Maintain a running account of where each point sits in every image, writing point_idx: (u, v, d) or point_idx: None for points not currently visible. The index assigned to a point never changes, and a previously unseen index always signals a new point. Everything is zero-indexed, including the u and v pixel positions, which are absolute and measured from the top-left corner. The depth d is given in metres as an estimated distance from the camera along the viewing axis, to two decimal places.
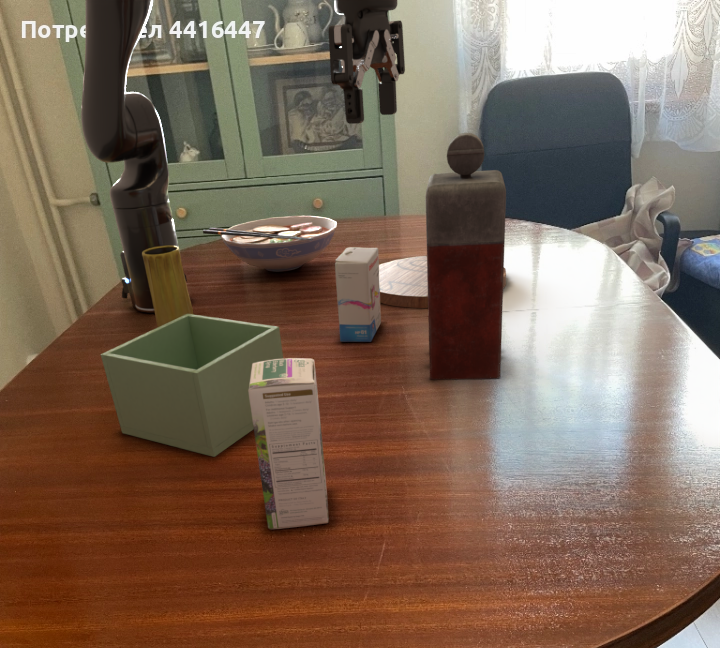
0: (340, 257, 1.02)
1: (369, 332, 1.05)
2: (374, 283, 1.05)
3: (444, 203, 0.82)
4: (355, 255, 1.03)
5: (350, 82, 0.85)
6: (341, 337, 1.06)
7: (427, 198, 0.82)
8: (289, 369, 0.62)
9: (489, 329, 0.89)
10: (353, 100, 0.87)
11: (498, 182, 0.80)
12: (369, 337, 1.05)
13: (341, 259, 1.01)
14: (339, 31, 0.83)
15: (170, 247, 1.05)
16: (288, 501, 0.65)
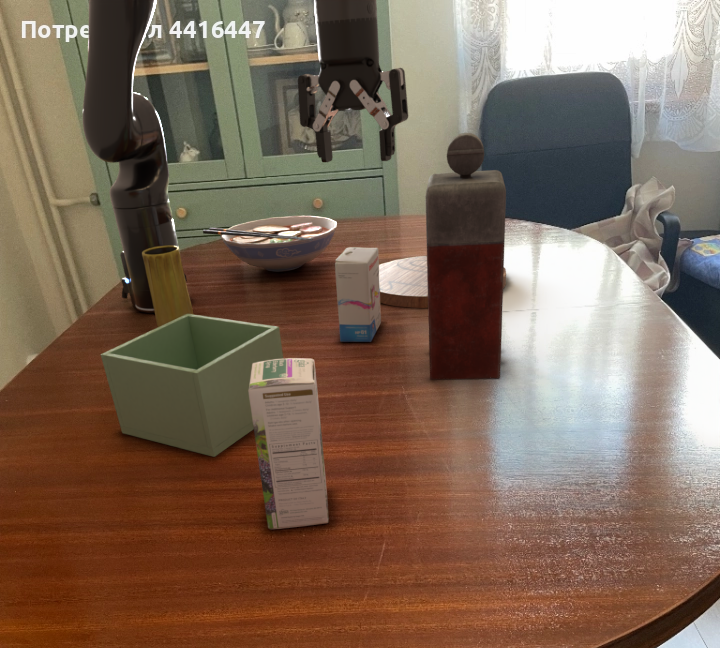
0: (340, 257, 1.02)
1: (369, 332, 1.05)
2: (374, 283, 1.05)
3: (443, 203, 0.82)
4: (355, 255, 1.03)
5: (303, 125, 0.96)
6: (341, 337, 1.06)
7: (427, 198, 0.82)
8: (289, 369, 0.62)
9: (489, 329, 0.89)
10: (316, 141, 0.97)
11: (498, 182, 0.80)
12: (369, 337, 1.05)
13: (341, 259, 1.01)
14: None
15: (170, 247, 1.05)
16: (288, 501, 0.65)
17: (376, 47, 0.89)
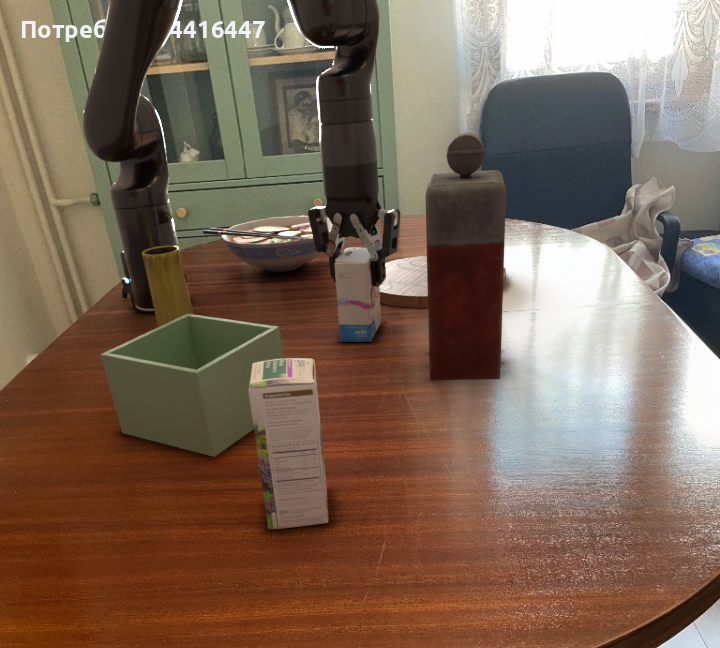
0: (340, 257, 1.02)
1: (369, 332, 1.05)
2: None
3: (443, 203, 0.82)
4: (355, 255, 1.03)
5: (318, 251, 1.05)
6: (341, 337, 1.06)
7: (427, 198, 0.82)
8: (289, 369, 0.62)
9: (489, 329, 0.89)
10: (330, 264, 1.06)
11: (498, 182, 0.80)
12: (368, 337, 1.05)
13: (341, 260, 1.01)
14: None
15: (170, 247, 1.05)
16: (288, 501, 0.65)
17: (374, 186, 0.97)
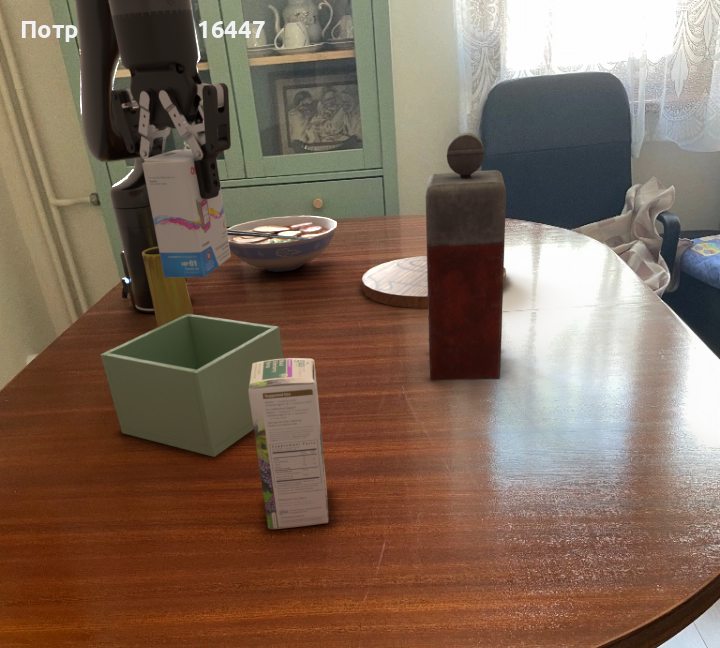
0: (153, 157, 0.74)
1: (200, 263, 0.77)
2: None
3: (443, 203, 0.82)
4: (176, 155, 0.75)
5: (131, 152, 0.77)
6: (164, 271, 0.78)
7: (427, 198, 0.82)
8: (289, 369, 0.62)
9: (489, 329, 0.89)
10: None
11: (498, 182, 0.80)
12: (200, 270, 0.77)
13: (152, 159, 0.73)
14: None
15: None
16: (288, 501, 0.65)
17: (188, 48, 0.69)
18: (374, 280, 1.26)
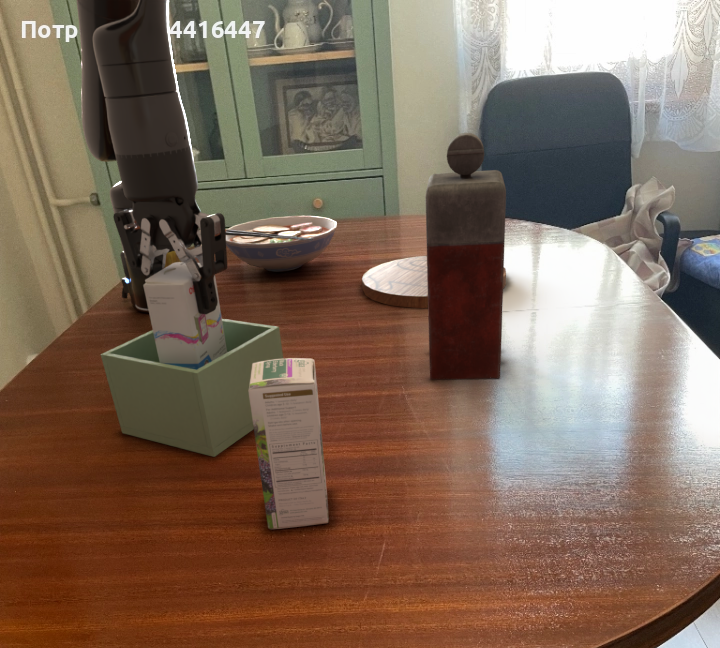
0: (154, 276, 0.78)
1: None
2: None
3: (443, 203, 0.82)
4: (175, 273, 0.79)
5: (133, 267, 0.81)
6: None
7: (427, 198, 0.82)
8: (289, 369, 0.62)
9: (489, 329, 0.89)
10: None
11: (498, 182, 0.80)
12: None
13: (152, 280, 0.77)
14: None
15: None
16: (288, 501, 0.65)
17: (187, 182, 0.73)
18: (374, 280, 1.26)
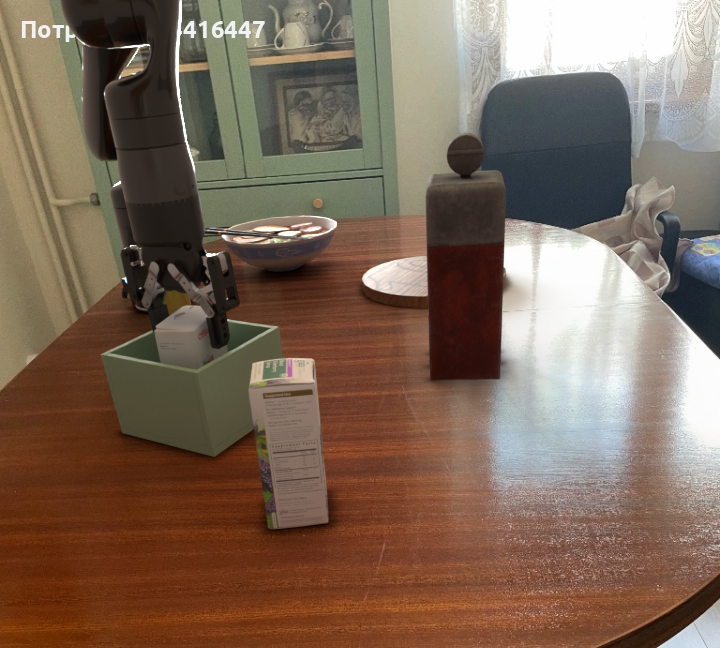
0: (164, 322, 0.80)
1: None
2: (213, 352, 0.83)
3: (443, 203, 0.82)
4: (185, 318, 0.81)
5: (133, 300, 0.83)
6: None
7: (427, 198, 0.82)
8: (289, 369, 0.62)
9: (489, 329, 0.89)
10: (150, 316, 0.84)
11: (498, 182, 0.80)
12: None
13: (163, 326, 0.79)
14: None
15: None
16: (288, 501, 0.65)
17: (195, 228, 0.75)
18: (374, 280, 1.26)
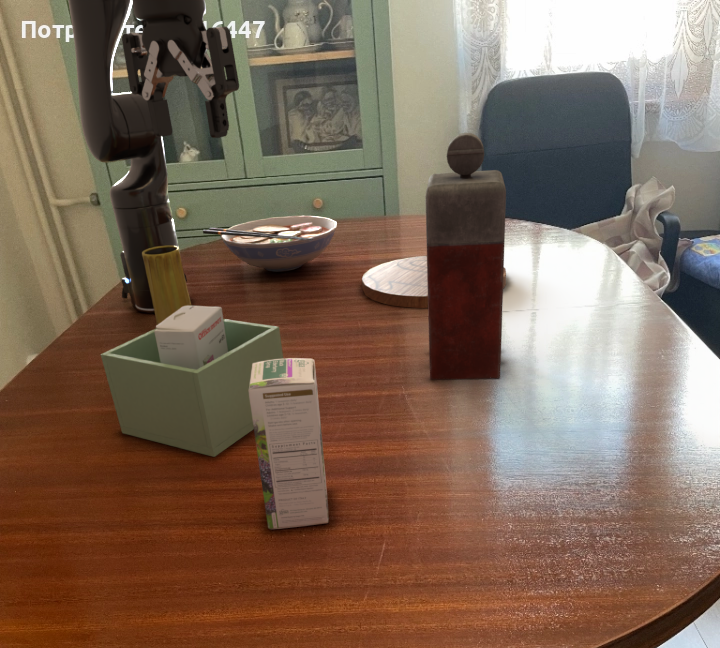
0: (164, 322, 0.80)
1: None
2: (213, 352, 0.83)
3: (443, 203, 0.82)
4: (185, 318, 0.81)
5: (133, 93, 0.83)
6: None
7: (427, 198, 0.82)
8: (289, 369, 0.62)
9: (489, 329, 0.89)
10: (150, 112, 0.84)
11: (498, 182, 0.80)
12: None
13: (163, 326, 0.79)
14: None
15: (170, 247, 1.05)
16: (288, 501, 0.65)
17: (195, 1, 0.75)
18: (374, 280, 1.26)
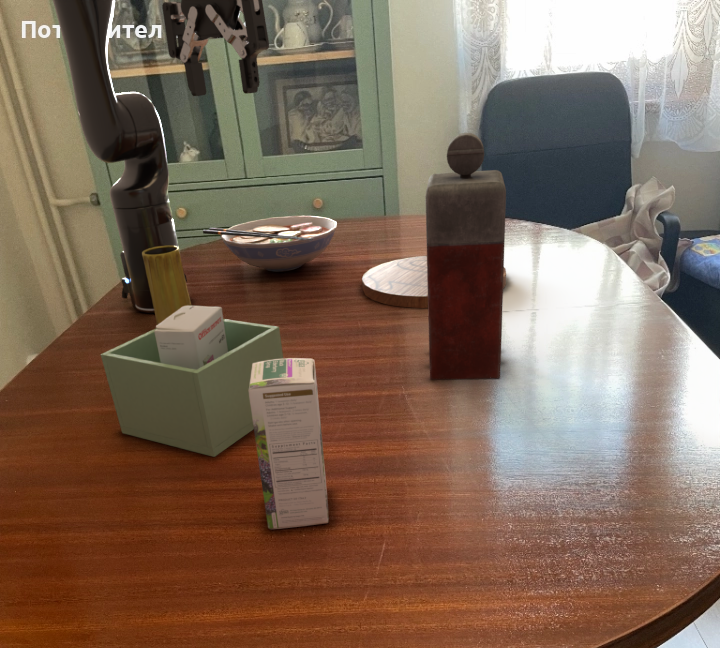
0: (164, 322, 0.80)
1: None
2: (213, 352, 0.83)
3: (443, 203, 0.82)
4: (185, 318, 0.81)
5: (172, 56, 0.93)
6: None
7: (427, 198, 0.82)
8: (289, 369, 0.62)
9: (489, 329, 0.89)
10: (186, 73, 0.94)
11: (498, 182, 0.80)
12: None
13: (163, 326, 0.79)
14: None
15: (170, 247, 1.05)
16: (288, 501, 0.65)
17: None
18: (374, 280, 1.26)
